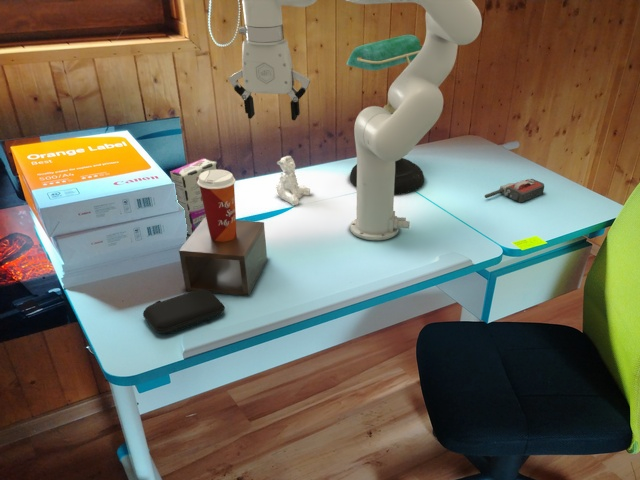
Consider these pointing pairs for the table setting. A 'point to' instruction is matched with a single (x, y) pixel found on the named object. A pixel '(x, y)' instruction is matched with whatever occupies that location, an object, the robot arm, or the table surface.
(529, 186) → the walkie-talkie
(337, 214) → the table surface
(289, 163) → the seated beast figurine
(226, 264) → the shelf
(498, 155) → the table surface
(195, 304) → the carrying case
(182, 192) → the candy bar box
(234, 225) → the paper cup
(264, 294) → the table surface
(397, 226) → the robot arm
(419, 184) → the banker's lamp
